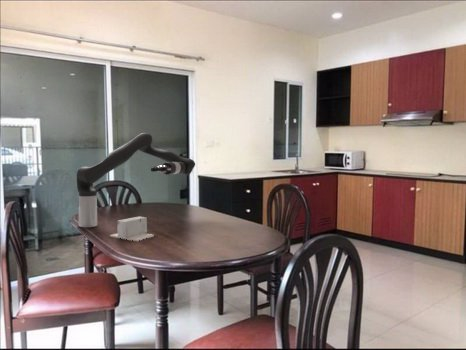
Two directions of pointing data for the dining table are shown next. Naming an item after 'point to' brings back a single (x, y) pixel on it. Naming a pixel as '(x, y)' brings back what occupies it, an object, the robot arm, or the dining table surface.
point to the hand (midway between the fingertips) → (152, 169)
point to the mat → (134, 238)
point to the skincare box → (132, 226)
